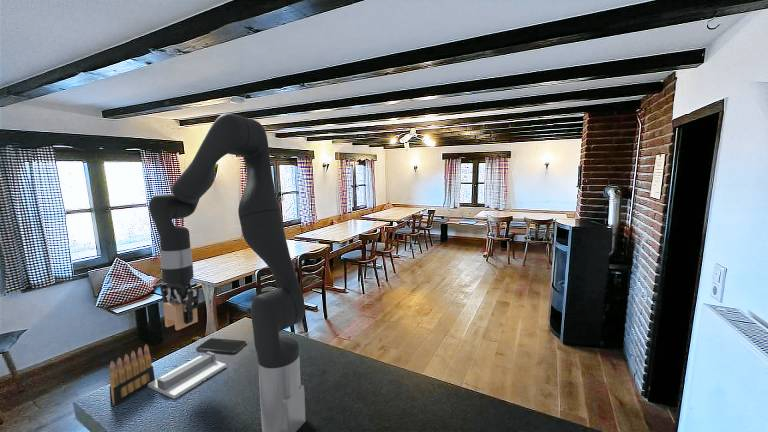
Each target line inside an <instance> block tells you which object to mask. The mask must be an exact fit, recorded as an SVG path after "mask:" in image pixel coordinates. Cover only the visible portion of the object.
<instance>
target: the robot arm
mask: <svg viewBox="0 0 768 432" xmlns="http://www.w3.org/2000/svg"><path fill="white" fill-rule="evenodd" d="M226 155H231V156H232V155H233V156H240V157H243V160H244V164H245V169H246V170H245V171H246V175H247V176H246V177H247V178H246V183H245V187H244V189H243V193H242V195H241V198H240V200H239V205H238V209H237V210H238V211H237V214H238V217H239V218H238V219H239V223H240V227H241V228H240V229H241V232H242V236H243V239H244V241H245V242H246V244H247V245H248V247H249V248H250V249H251V250H253V252H254V253H255V254H256V255H257V256H258V257H259V258H260V259H261V260H262V261H263V262H264V263H265V264H266V265H267V268H269V270H270V271H271V274H272V276H273V279H274V282H275V286H276V289H273V290H270V291H266V292H264V293H261V294H258V295H256V296H255V297H254V298H253V300H252V302H251V306H250V307H251V308H250V310H251V311H250V312H251V313H250V316H251V324H252V331H253V341H254V348H255V352H256V356H257V363H258V364H257V366H258V384H259V385H258V386H259V401H260V402H259V403H260V404H259V405H260V419H261V431H262V432H298V430H299V429H300V428H301V427H302V426H303V425H304V424H305V423H306V402H305V401H306V400H305V399H306V398H305V385H303V384H301V364H300V345H299V343H298V341H297V340H296V339H295V338H292V337H290V336H289V337H288V336H280V332H281V331H283V330H286V329H289V328H290V327H292V326H295V325H297V324H299V323H300V322H302V320H303V319H304V317H305V313H306V307H305V305H306V304H305V299H304V297H303V293H302V290H301V289H302V288H301V286H300V283H299V279H298V276H297V274H296V271H295V269H294V265H293V262H292V258H291V254H290V250H289V246H288V242H287V238H286V234H285V229H284V221H283V218H282V214H281V209H280V205H279V203H278V198H277V193H276V187H275V183H274V178H273V172H272V165H271V158H270V149H269V141H268V136H267V133H266V130H265V127H264V126H263V125H262V124H261V123H260V121H258V120H255V119H252V118H249V117H245V116H241V115H237V114H234V113H228V112H227V113H223V114H220V116H218V117H217V118H216V119H215V120H214V122H213V123H212V125H211V126H210V128H209V130H208V132H207V133H206V135H205V136H204V139H203V140H202V143H201V144H200V146H199V148H198V150H197V152H196V153H195V156H194V157H193V158H192V161H191V162H190V163H189V165H188V166H187V168H186V169H185V170H184V171H183V172H182V173H181V174H180V176H179V177H178V178H177V179H176V180H175V181H174V183H173V184H172V186H171V192H172V193H161V194H160V193H159V194H155V195H154V196H153V197H152V198H151V199H150V201H149V202H148V203H149V204H148V209H149V214H150V216H151V218H152V220H153V223H154V225H155V228H156V230H157V233H158V235H159V236H158V237H159V244H160V256H159V257H160V269H161V281H162V284H160V285H159V289H160V293H161V299H162V304H163V303H165V302H168V301H171V300H174V299H177V300H178V302H179V304H182V307H183V311H184V312H183V315H184V323H185V324H188V323H191V322H192V321H193V309H195V308H197V309H198V307H199V297H200V290H199V288H197V287H196V288H193V287H192V285H191V281H192V280H193V278H194V277H195V276H194V275H195V274H194V264H193V253H192V249H191V237H190V235H191V234H190V231H189V228H187V227H185V226H175V224H174V222H173V220H176V219H184V218H189V216H192V215H193V214H194V213H195V211H196V209H197V206H198V204H199V201H200V199H201V198H202V197H203V196H204V195H205V194H206V193H207V192H208V191H209V189H210V188H211V187H212V186H213V184H214V181H215V179H216V164H217V162H219V160H221V159H222V158H223V157H224V156H226ZM187 297H188V299H187V300H182V299H185V298H187ZM186 302H187V307H186V304H185V303H186ZM193 302H194V305H193Z"/></svg>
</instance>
